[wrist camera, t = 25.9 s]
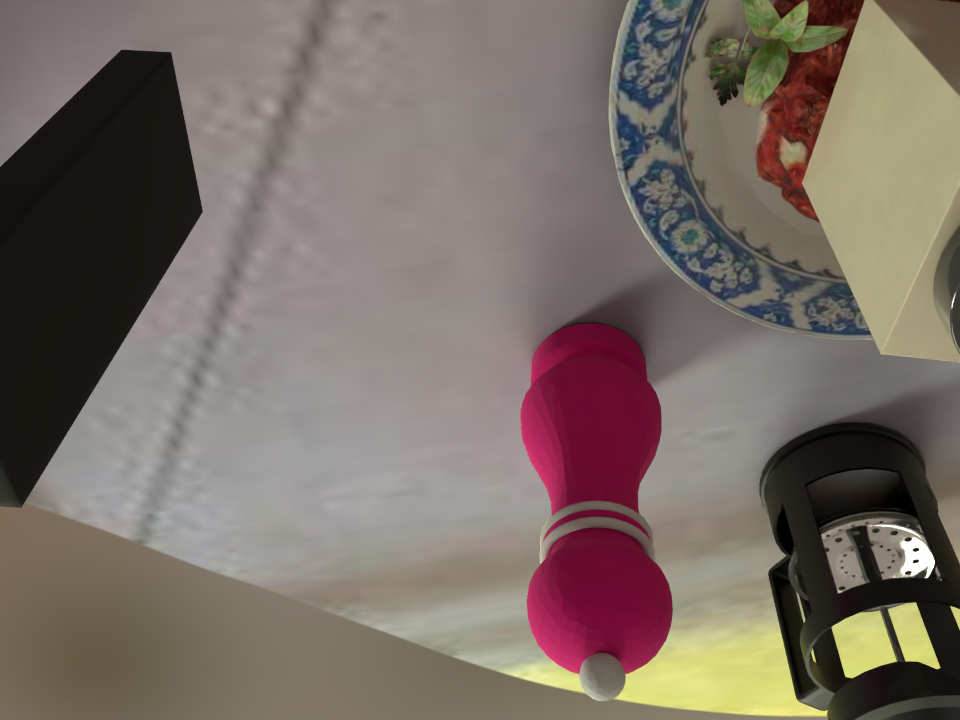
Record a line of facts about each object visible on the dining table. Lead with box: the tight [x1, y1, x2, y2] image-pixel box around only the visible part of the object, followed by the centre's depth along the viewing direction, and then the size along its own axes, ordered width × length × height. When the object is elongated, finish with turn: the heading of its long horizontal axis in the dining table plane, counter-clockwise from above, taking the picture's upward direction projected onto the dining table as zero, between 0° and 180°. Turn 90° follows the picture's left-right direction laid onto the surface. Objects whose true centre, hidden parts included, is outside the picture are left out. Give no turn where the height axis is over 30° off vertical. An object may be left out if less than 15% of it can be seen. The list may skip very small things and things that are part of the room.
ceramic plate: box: [609, 0, 960, 340], centre depth 37 cm, size 26×26×3 cm
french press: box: [760, 423, 960, 720], centre depth 45 cm, size 12×9×23 cm
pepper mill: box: [521, 323, 673, 701], centre depth 42 cm, size 7×7×20 cm
